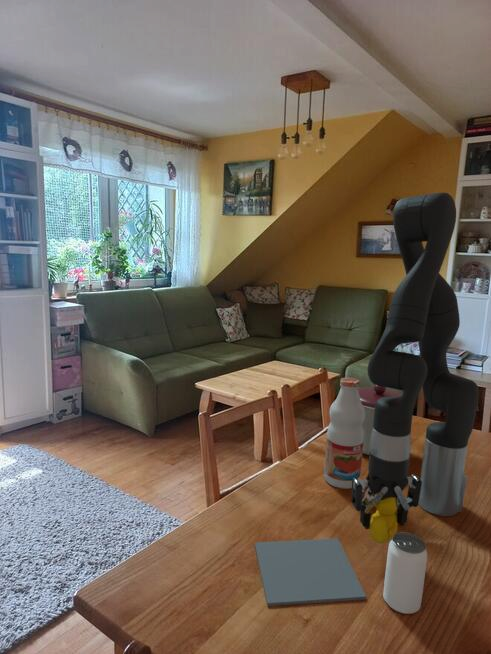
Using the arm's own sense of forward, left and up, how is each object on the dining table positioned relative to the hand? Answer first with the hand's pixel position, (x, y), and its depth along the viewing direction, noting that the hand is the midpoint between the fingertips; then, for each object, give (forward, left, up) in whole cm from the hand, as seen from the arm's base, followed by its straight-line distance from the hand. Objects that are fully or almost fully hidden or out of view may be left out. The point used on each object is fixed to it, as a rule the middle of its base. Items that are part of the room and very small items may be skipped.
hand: (382, 525), depth 94 cm
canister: (-17, -45, -7) cm, 49 cm away
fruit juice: (-1, -28, -7) cm, 29 cm away
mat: (+17, +4, -6) cm, 18 cm away
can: (+1, +13, -7) cm, 14 cm away
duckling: (0, 0, -3) cm, 3 cm away
